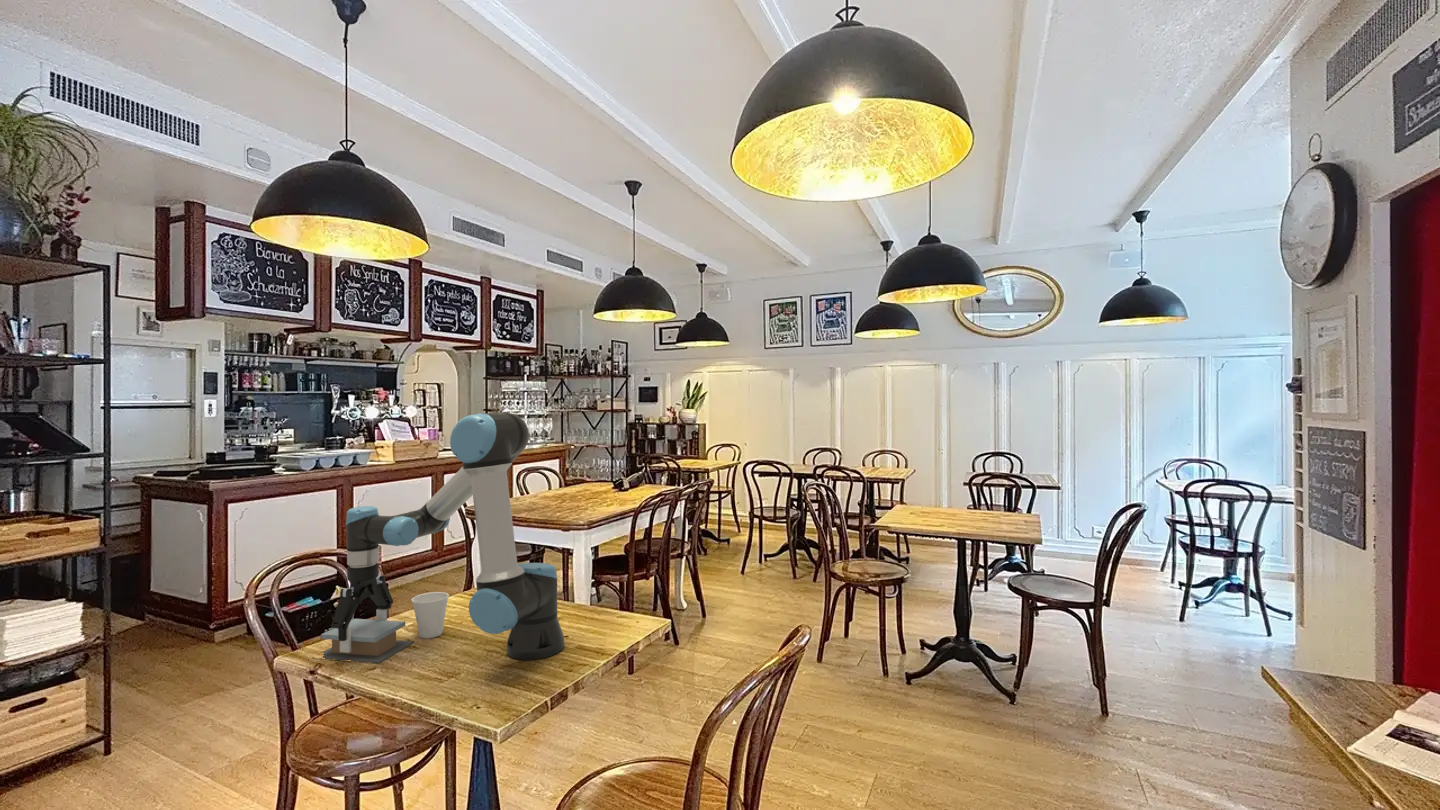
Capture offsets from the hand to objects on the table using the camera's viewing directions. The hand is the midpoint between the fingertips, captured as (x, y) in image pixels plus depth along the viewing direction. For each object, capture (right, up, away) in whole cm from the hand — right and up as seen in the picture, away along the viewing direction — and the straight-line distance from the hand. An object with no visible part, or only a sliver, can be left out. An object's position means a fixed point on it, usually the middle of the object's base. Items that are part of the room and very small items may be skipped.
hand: (364, 642), depth 172 cm
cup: (+13, -2, +11) cm, 17 cm away
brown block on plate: (0, -2, 0) cm, 2 cm away
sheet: (0, +3, 0) cm, 3 cm away
